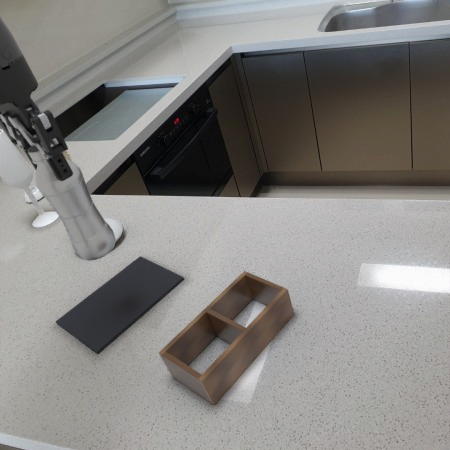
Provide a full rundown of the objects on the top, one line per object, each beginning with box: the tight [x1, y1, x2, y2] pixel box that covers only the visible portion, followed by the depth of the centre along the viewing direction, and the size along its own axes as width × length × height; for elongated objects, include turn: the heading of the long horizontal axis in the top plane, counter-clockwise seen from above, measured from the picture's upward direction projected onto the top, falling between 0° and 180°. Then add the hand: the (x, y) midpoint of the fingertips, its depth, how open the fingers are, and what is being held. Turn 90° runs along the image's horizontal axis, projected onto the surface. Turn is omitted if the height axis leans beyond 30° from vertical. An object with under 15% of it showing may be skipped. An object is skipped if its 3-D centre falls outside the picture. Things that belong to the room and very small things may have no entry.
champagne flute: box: [0, 128, 60, 228], centre depth 110 cm, size 7×7×24 cm
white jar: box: [24, 186, 44, 203], centre depth 126 cm, size 5×3×5 cm
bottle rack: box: [158, 270, 295, 406], centre depth 73 cm, size 19×10×6 cm, turn 143°
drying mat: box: [55, 255, 185, 355], centre depth 87 cm, size 20×14×1 cm
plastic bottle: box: [28, 142, 117, 261], centre depth 71 cm, size 6×7×20 cm
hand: (55, 173), depth 68 cm, fingers closed on plastic bottle, 6 cm apart
